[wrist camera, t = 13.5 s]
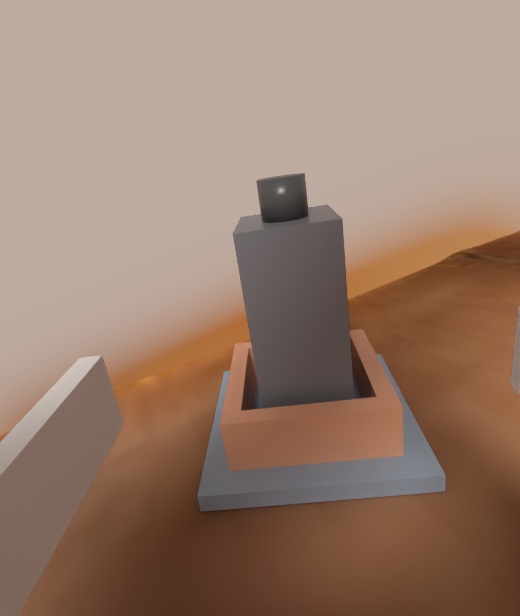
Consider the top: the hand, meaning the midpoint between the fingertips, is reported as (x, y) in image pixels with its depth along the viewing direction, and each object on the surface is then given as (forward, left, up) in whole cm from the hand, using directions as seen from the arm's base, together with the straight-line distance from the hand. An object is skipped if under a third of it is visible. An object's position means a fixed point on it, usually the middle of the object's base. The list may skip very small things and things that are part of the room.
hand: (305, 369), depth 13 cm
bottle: (0, -9, -9) cm, 13 cm away
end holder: (0, -10, -10) cm, 14 cm away
